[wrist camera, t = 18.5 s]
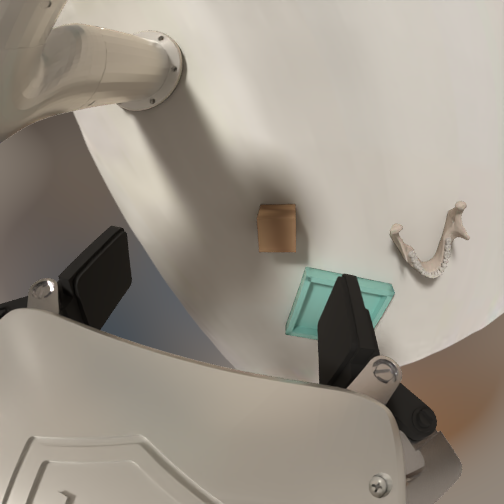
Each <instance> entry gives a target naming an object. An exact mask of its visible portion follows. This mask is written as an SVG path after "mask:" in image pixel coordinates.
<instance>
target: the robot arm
mask: <svg viewBox="0 0 504 504" xmlns="http://www.w3.org/2000/svg"><path fill="white" fill-rule="evenodd" d="M67 1H68V0H0V143H2V142H3V141H5V140H6V139H8V138H9V137H11V136H12V135H13V134H15V133H17V132H18V131H20V130H21V129H23V128H25V127H27V126H28V125H30V124H33V123H35V122H37V121H39V120H42V119H45V118H48V117H51V116H55V115H58V114H62V113H67V112H71V111H76V110H80V109H85V108H91V107H96V106H102V105H108V104H115V103H116V104H117V105H118V106H120V107H122V108H124V109H127V110H131V111H140V110H146V109H150V108H152V107H155V106H157V105H158V104H160V103H162V102H163V101H164V100H165V99H166V98H168V97H169V95H170V94H171V93H172V92H173V91H174V89H175V87H176V86H177V84H178V82H179V79H180V76H181V72H182V55H181V51H180V49H179V47H178V45H177V44H176V42H175V41H174V40H173V39H172V38H171V37H169V36H168V35H166V34H164V33H161V32H158V31H151V30H148V31H141V32H138V33H135V34H133V35H131V34H127V33H123V32H119V31H115V30H111V29H106V28H102V27H97V26H91V25H86V24H79V23H72V24H65V25H61V26H58V27H54V28H53V26H54V24H55V22H56V20H57V18H58V17H59V15H60V13H61V11H62V9H63V8H64V6H65V4H66V2H67ZM163 38H164V39H163ZM162 39H163V40H162ZM176 68H177V71H175V69H176ZM154 99H155V102H154ZM131 282H132V277H131V269H130V260H129V251H128V241H127V233H126V232H124V229H123V228H120V227H115V226H110V227H109V228H108V229H107V230H106V231H105V232H104V233H102V234H101V235H100V236H99V237H98V238H97V239H96V240H95V241H94V242H93V243H92V244H91V245H89V246H88V247H87V248H86V249H85V250H84V251H83V252H82V253H81V254H80V255H79V256H78V257H77V258H76V259H75V260H74V261H73V262H72V263H71V264H70V265H69V266H68V267H67V268H66V269H65V270H64V271H63V272H62V273H61V274H60V275H59V281H58V282H56V281H55V280H53V279H49V278H46V279H41V280H38V281H37V282H35V283H34V284H33V285H32V286H31V287H30V289H29V292H28V296H27V297H23V298H19V299H16V300H12V301H9V302H6V303H2V304H0V504H434V503H435V502H436V501H437V500H438V499H439V498H440V497H441V496H442V495H443V494H444V493H445V492H446V491H447V490H448V489H449V488H450V487H451V486H452V485H453V484H454V483H455V482H456V481H457V480H458V478H459V477H460V475H461V472H462V464H461V462H460V460H459V458H458V457H457V455H456V453H455V452H454V450H453V449H452V447H451V446H450V444H449V443H448V441H447V440H446V438H445V437H444V435H443V434H442V432H441V431H439V432H437V431H436V429H435V428H436V426H437V420H436V416H435V414H434V412H433V411H432V410H431V409H430V408H429V407H428V406H427V405H426V404H425V403H423V402H422V401H421V400H420V399H419V398H418V397H416V396H415V395H414V394H413V393H412V392H410V391H409V390H408V389H407V388H406V387H405V386H403V385H402V384H401V383H400V382H401V379H402V372H401V369H400V367H399V365H398V364H397V363H396V362H395V361H394V360H393V359H391V358H389V357H386V356H380V353H379V349H378V345H377V340H376V336H375V332H374V328H373V324H372V320H371V316H370V312H369V310H368V309H366V308H365V305H364V301H363V297H362V294H361V290H360V286H359V283H358V279H357V277H356V276H353V275H348V274H343V275H342V276H338V277H337V279H336V282H335V284H334V286H333V289H332V291H331V294H330V296H329V298H328V301H327V303H326V305H325V307H324V310H323V312H322V314H321V316H320V319H319V321H318V326H317V332H318V353H319V384H316V383H309V382H302V381H296V380H289V379H284V378H278V377H272V376H266V375H260V374H255V373H250V372H245V371H240V370H235V369H231V368H226V367H221V366H217V365H213V364H209V363H205V362H201V361H196V360H193V359H189V358H185V357H182V356H178V355H174V354H171V353H167V352H164V351H160V350H157V349H154V348H151V347H147V346H144V345H141V344H138V343H135V342H132V341H129V340H126V339H123V338H120V337H117V336H115V335H112V334H109V333H106V332H103V331H101V330H100V329H101V328H102V326H103V325H104V323H105V322H106V320H107V319H108V317H109V316H110V314H111V313H112V311H113V310H114V309H115V307H116V306H117V304H118V303H119V301H120V300H121V298H122V297H123V296H124V294H125V293H126V291H127V290H128V289H129V287H130V285H131Z"/></svg>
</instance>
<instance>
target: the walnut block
mask: <svg viewBox="0 0 504 504" xmlns="http://www.w3.org/2000/svg"><path fill="white" fill-rule="evenodd" d="M257 229H258V242H259V252H296V210H295V204H277V205H260V209H259V213H258V216H257Z"/></svg>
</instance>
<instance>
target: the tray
mask: <svg viewBox="0 0 504 504" xmlns="http://www.w3.org/2000/svg"><path fill="white" fill-rule="evenodd" d="M342 275H343V274H339V273H334V272H329V271H324V270H319V269H314V268H309V267H306V268H305V271H304V274H303V277H302V280H301V283H300V286H299V289H298V292H297V295H296V298H295V301H294V304H293V307H292V309H291V312H290V315H289V318H288V321H287V324H286V332H285V334H286V335H291V336H297V337H303V338H310V339H316V340H318V332H317V326H318V321H319V319H320V316H321V314H322V312H323V310H324V307H325V305H326V303H327V301H328V298H329V296H330V294H331V291H332V289H333V286H334V284H335V282H336V279H337V277H338V276H342ZM357 279H358V283H359V286H360V290H361V294H362V297H363V301H364V305H365V308H366V309H368V310H369V312H370V316H371V320H372V324H373V328H375V326H376V324H377V323H378V321H379V319H380V318H381V316H382V314H383V313H384V311H385V309H386V308H387V306H388V304H389V302H390V301H391V299H392V297H393V295H394V293H395V292H394V289H393V287H392V284H389V283H384V282H379V281H374V280H369V279H364V278H359V277H357Z"/></svg>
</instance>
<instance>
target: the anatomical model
mask: <svg viewBox="0 0 504 504" xmlns="http://www.w3.org/2000/svg"><path fill="white" fill-rule="evenodd" d="M466 206H467V205H466V203H465V202H462V201H459V202H457V203H456V204H455V208H453V209H451V210H449V211H448V214H447V220H446V223H445V227H444V231H443V235H442V238H441V240H440V243H439V246H438V249H437V251H436V253H435V255H434V257H433V258H432V259H430V260H429V261H427V262H421V261H420V260H419V258H418V257H417V256H416V254H415V252H414V249H413V248H412V247H411V246H408V245H406V244H405V243H404V242H403V240H402V239H401V238H400V236H399V233H398V232H400V231H401V230H402V229H403V226H402V225H400V224H394V225H393V226H392V228H391V230H390V236H391V238H392V240H393V242H394V243H395V244H396V246H397V247H398V249H399V251H400V252H401V254H402V256H403V258H404V259H405V260H406V261H407V263H409V264H410V265H411V266H412V267H413V268H414V269H416V270H417V271H419V273H420V274H421V275H425V277H429V278H436V277H438V276H440V275H441V274H442V273H441V272H444V268H446V267H447V264H446V263H448V258H449V257H450V250H451V243H452V242H453V240H454V239H455V238H456V237H461V238H464V239H466V240H469V239H470V237H469V236H468V234H467V232H466V230H465V228H464V227H463V225H462V221H461V216H462V213H463V211H464V209H465V208H466ZM440 271H441V272H440Z"/></svg>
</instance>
